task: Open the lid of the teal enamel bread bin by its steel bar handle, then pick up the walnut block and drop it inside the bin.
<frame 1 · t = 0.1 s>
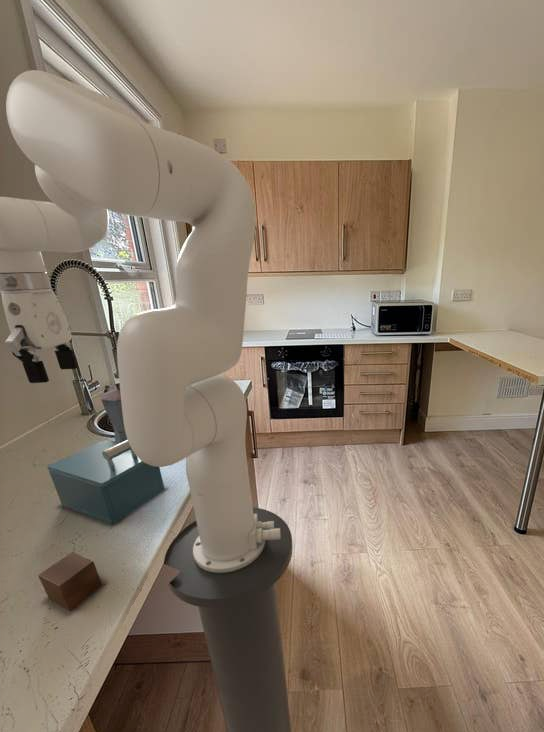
hand: (55, 375, 70), 27 cm above the countertop, tool pointing down, fingers open, 9 cm apart
bin lid: (101, 450, 71), point 12 cm above the countertop, hinge at 0.0°
block: (76, 592, 53), on the countertop
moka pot: (134, 453, 95), on the countertop
bread bin: (115, 497, 76), on the countertop
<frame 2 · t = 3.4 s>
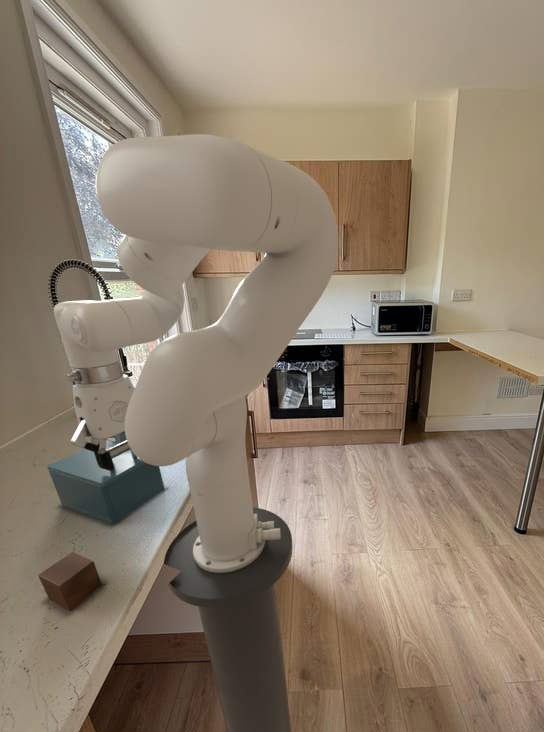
hand: (123, 459, 69), 11 cm above the countertop, tool pointing down, fingers closed on bin lid, 6 cm apart
bin lid: (101, 450, 71), point 12 cm above the countertop, hinge at 0.0°, touching gripper
everything else where it was.
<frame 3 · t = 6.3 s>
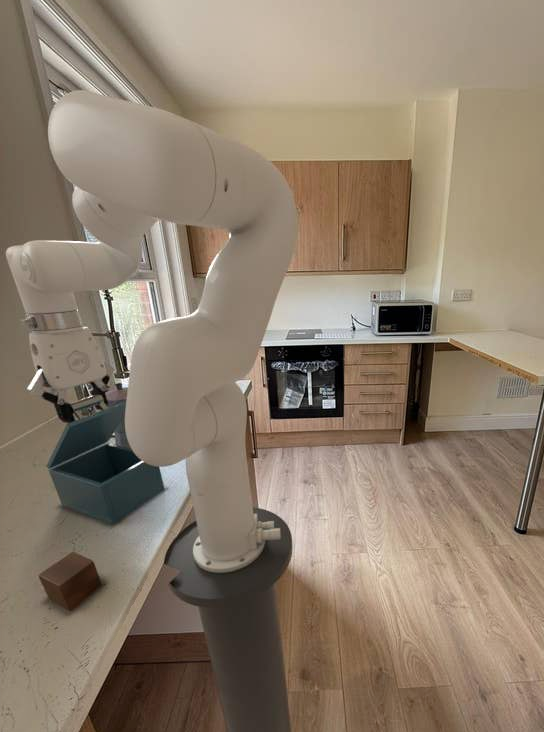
hand: (86, 414, 69), 19 cm above the countertop, tool pointing down, fingers closed on bin lid, 6 cm apart
bin lid: (82, 425, 71), point 17 cm above the countertop, hinge at 43.0°, touching gripper
everything else where it was.
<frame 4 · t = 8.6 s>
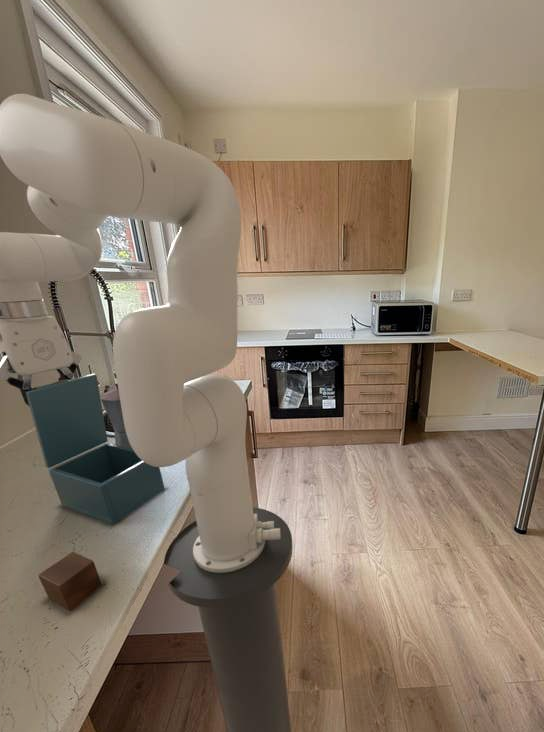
hand: (52, 400, 72), 21 cm above the countertop, tool pointing down, fingers closed on bin lid, 6 cm apart
bin lid: (64, 416, 72), point 18 cm above the countertop, hinge at 80.1°, touching gripper
everything else where it was.
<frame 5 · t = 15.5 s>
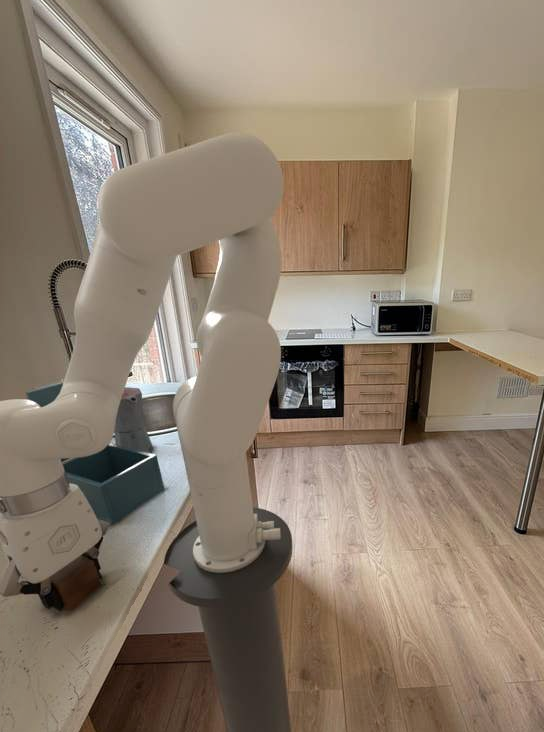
hand: (75, 590, 53), 0 cm above the countertop, tool pointing down, fingers closed on block, 5 cm apart
bin lid: (64, 416, 72), point 18 cm above the countertop, hinge at 80.4°
block: (76, 592, 53), on the countertop, touching gripper
everything else where it was.
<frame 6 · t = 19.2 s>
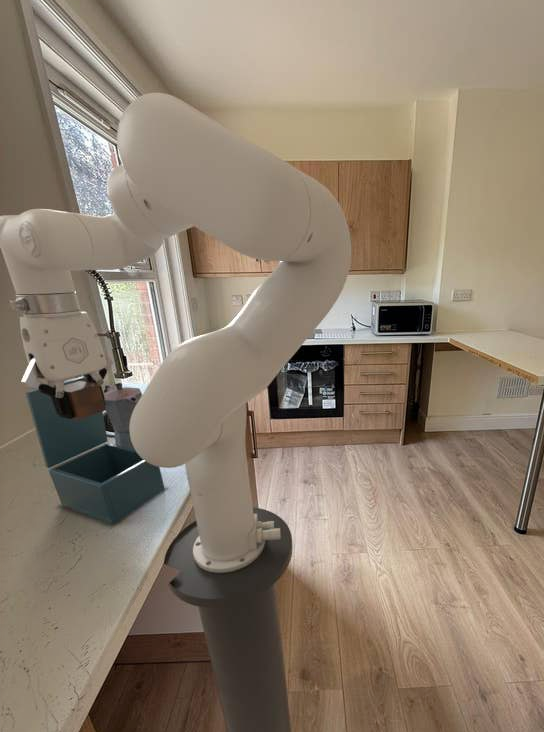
hand: (83, 410, 62), 23 cm above the countertop, tool pointing down, fingers closed on block, 5 cm apart
block: (83, 412, 62), point 22 cm above the countertop, touching gripper
everything else where it was.
when the fingers open (10 cm above the countertop, at t = 23.0 s): block drops 9 cm, resting on bread bin.
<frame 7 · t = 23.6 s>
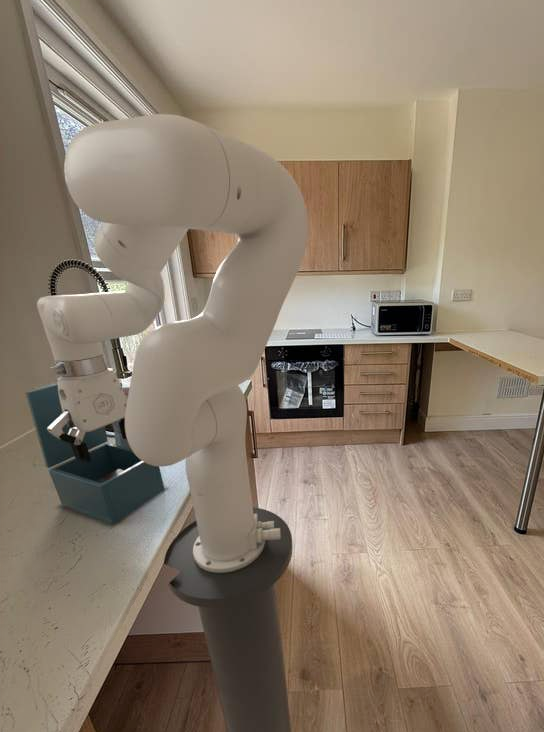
hand: (108, 449, 70), 12 cm above the countertop, tool pointing down, fingers open, 9 cm apart
block: (121, 496, 75), point 1 cm above the countertop, touching bread bin
everything else where it was.
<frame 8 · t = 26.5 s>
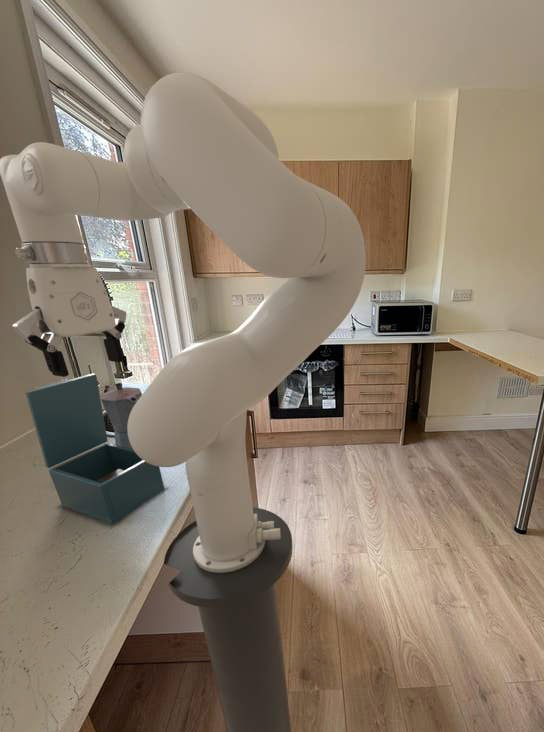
hand: (90, 368, 59), 30 cm above the countertop, tool pointing down, fingers open, 9 cm apart
nothing on the countertop moved.
at the end: bin lid at +80° (first picture: +0°); block inside the target area in the bread bin (2.6 cm from its centre), point 0.9 cm above the bread bin's base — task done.
